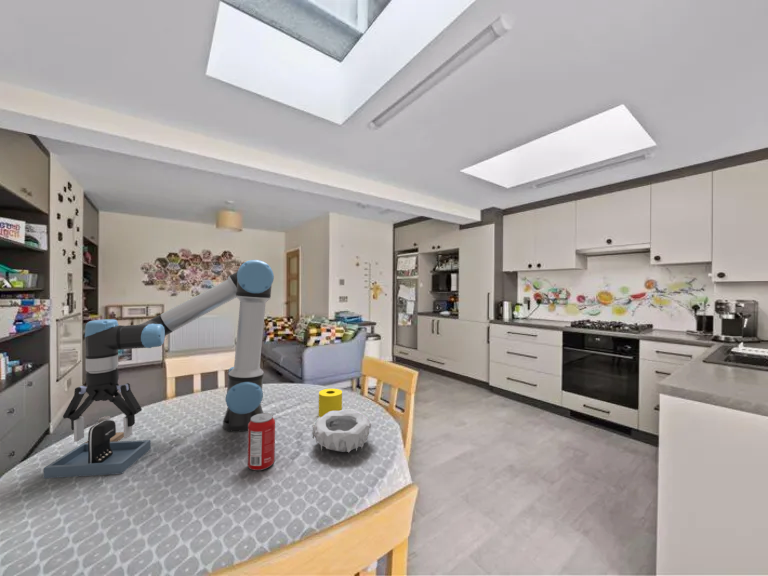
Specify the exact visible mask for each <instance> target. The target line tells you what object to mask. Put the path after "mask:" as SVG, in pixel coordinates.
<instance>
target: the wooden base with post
mask: <svg viewBox="0 0 768 576" xmlns="http://www.w3.org/2000/svg"><path fill="white" fill-rule="evenodd" d="M104 420H111V416H110V415H105V416H102V417H99V418H98V419H97V423H99V422H101V421H104ZM122 439H124V431H122V432H121V431H120V432H117V431H116V435H115V436H113V437H112V438H110V442H116V441H120V440H121V441H122ZM84 443H88V440H87V441H85V442H84Z"/></svg>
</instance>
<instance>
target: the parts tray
mask: <svg viewBox="0 0 768 576" xmlns="http://www.w3.org/2000/svg"><path fill="white" fill-rule="evenodd" d="M151 442H152V441H151V439H144V440H143V439H140V440H121V441H120V440H119V441H116V442H110V447H111V450H112V452H113V454H112V455H111V456H110V457H108V458H107V459H106V460H104V461H103V462H102V463H88V443H85V442H84V443H83V442H82V444H80V445H78V446H77V447H75V448H74V449H72V450H70V451H69V452H67V453H65V454H63V456H61V457H59V458H57V459H55V460H54V461H52V462H50V463H49V464H47V465H46V466H45V467H43V479H53V478H54V479H55V478H56V479H57V478H69V477H70V478H71V477H72V478H73V477H89V476H103V475H104V476H106V475H118V474H119V475H120V474H121V475H122V474H123V473H124V472H126V470H128V469H129V468H130V467H131V466H132V465H134V464H135V463H136V462H137V461H138V460H139V459H140V458H142V457H143V456H144V455H145V454H146V453H148V452H149V451H150V450H151V446H152V445H151Z"/></svg>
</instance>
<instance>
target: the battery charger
mask: <svg viewBox="0 0 768 576" xmlns="http://www.w3.org/2000/svg"><path fill="white" fill-rule="evenodd" d="M116 426H117V425H116V421H114V420H112V419H110V420H104V421H101V422H99V423H98V422H96V424H94V425H92V426H91V427H90V428H89V430H88V433H87V434H88V435H87V441H88V463H102V462H103V461H104V460H106V459H107V458H108V457H110V456H111V455H112V454H113V452H112V450H111V447H110V438H112V437H113V436H115V435H116V432H117V430H116V429H117V428H116Z"/></svg>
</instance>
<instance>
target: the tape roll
mask: <svg viewBox="0 0 768 576" xmlns="http://www.w3.org/2000/svg"><path fill="white" fill-rule="evenodd" d="M340 410H343V391H342V390H341V389H339V388H325V389H321V390H320V391H318V417H322V416H324V415H325V414H326V413H328V412H329V411H340Z"/></svg>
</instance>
